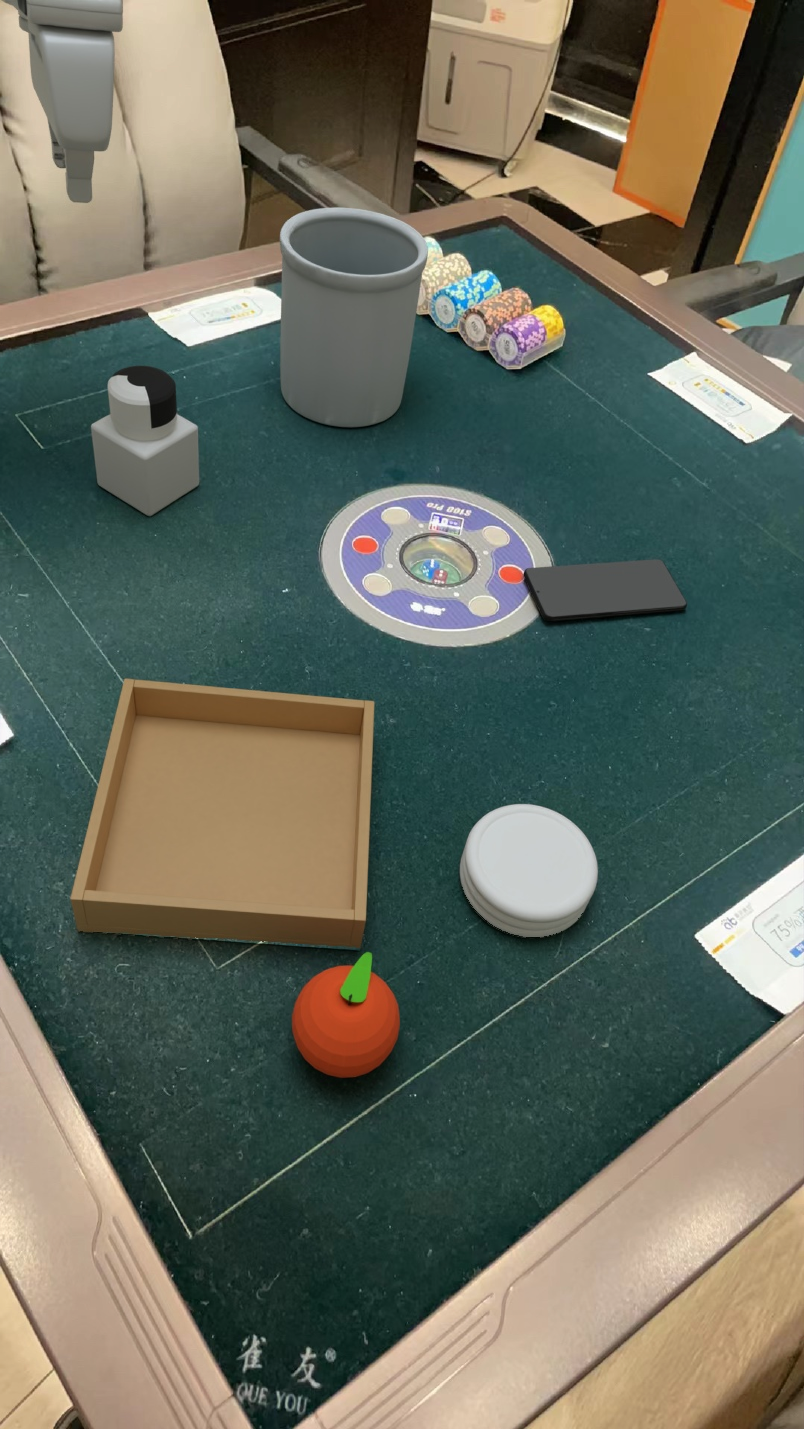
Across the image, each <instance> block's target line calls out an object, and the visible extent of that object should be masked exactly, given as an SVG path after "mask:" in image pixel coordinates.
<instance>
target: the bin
mask: <svg viewBox="0 0 804 1429" xmlns="http://www.w3.org/2000/svg"><path fill="white" fill-rule="evenodd" d="M374 725H375V701H374V700H363V699H355V698H354V699H353V698H342V697H330V696H321V695H311V694H309V695H308V694H298V693H287V692H276V691H265V690H254V689H243V688H232V687H224V686H223V687H221V686H210V685H202V684H201V685H198V684H189V683H180V682H179V683H177V682H167V681H156V680H146V679H145V680H144V679H134V678H125V677H124V679H123V682H122V687H121V692H120V695H119V699H118V703H117V708H116V711H115V715H114V720H113V723H112V727H111V732H110V736H109V738H108V739H109V740H108V743H107V748H106V751H105V756H104V760H103V764H102V769H101V772H100V777H99V781H98V785H97V788H96V792H95V796H94V801H93V805H92V808H91V812H90V816H89V817H90V818H89V822H88V825H87V829H86V833H85V837H84V841H83V844H82V849H81V854H80V857H79V861H78V865H77V869H76V874H75V878H74V882H73V886H72V890H71V894H70V899H69V900H70V904H71V907H72V913H73V916H74V919H75V920H74V921H75V925H76V929H77V932H78V933H79V932H80V931H83V932H82V933H93V932H103V933H102V934H106V933H105V932H108V933H110V932H111V933H130V934H148V935H161V936H175V937H190V938H195V937H196V938H219V939H225V938H227V939H237V940H247V941H251V940H252V941H262V942H264V941H268V942H281V943H295V944H310V945H328V946H346V947H356V948H360V949H361V947H362V942H363V937H364V931H365V928H366V923H367V904H368V902H367V900H368V881H369V880H368V879H369V878H368V877H369V855H370V854H369V853H370V826H371V802H372V801H371V800H372V778H373V776H372V775H373V752H374V750H373V748H374Z"/></svg>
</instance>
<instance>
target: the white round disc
mask: <svg viewBox="0 0 804 1429" xmlns="http://www.w3.org/2000/svg"><path fill="white" fill-rule="evenodd" d="M598 868H599V867H598V860H597V856H596V854H595V851H594V848H593V845H592V844H591V842H590V841H589V839H588V837H587V836H586V835H585V833H584V832H583V831H582V829H580V828H579V827H578V825H576V824H575V823H574V822H573V821H572V820H570V819H568V818H567V817H566V816H564V815H563V814H561V813H559V812H557V811H556V810H553V809H550V808H547V807H545V806H541V805H537V804H529V803H515V804H508V805H503V806H500V807H497V808H495V809H493V810H491V811H489V812H488V813H486V814H485V815H484V816H482V817H481V818H480V819H479V820H478V821H476V823H475V824H474V826H473V827H472V828H471V830H470V832H469V833H468V836H467V838H466V841H465V845H464V848H463V851H462V854H461V857H460V862H459V880H460V884H461V887H463V888H462V891H463V890H464V891H463V894H464V896H465V895H466V896H465V898H466V897H467V898H466V900H467V899H468V900H469V901H468V900H467V901H468V903H469V902H470V903H469V905H470V904H471V905H472V906H473V907H472V906H471V905H470V906H471V907H472V909H473V908H474V909H475V910H476V911H477V912H478V913H479V914H480V915H481V916H482V917H483V918H484V919H485V920H487V921H488V922H489V923H490V924H492V925H493V926H492V925H491V926H492V927H494V926H495V927H497V928H499V929H501V930H502V931H501V930H500V931H501V932H503V931H506V932H508V933H510V934H509V935H511V934H514V935H519V936H523V937H522V938H526V937H540V938H545V937H544V936H547V937H550V936H549V935H551V936H554V935H556V933H557V934H559V933H561V931H562V932H563V931H565V930H567V929H568V928H570V927H572V926H573V925H574V924H575V923H576V922H577V921H579V919H580V918H581V917H582V915H583V914H584V912H585V910H586V908H587V906H588V904H590V900H591V898H592V897H593V895H594V893H595V891H596V887H597V883H598V877H599V876H598V875H599V869H598ZM474 909H473V910H474ZM475 910H474V911H475ZM476 911H475V912H476ZM477 912H476V913H477ZM478 913H477V914H478ZM582 913H583V914H582ZM479 914H478V915H479ZM581 914H582V915H581ZM480 915H479V916H480ZM481 916H480V917H481ZM482 917H481V918H482ZM483 918H482V919H483ZM578 918H579V919H578ZM484 919H483V920H484ZM485 920H484V921H485ZM488 922H487V923H488ZM489 923H488V924H489ZM490 924H489V925H490ZM495 927H494V928H495ZM497 928H496V929H497ZM499 929H498V930H499ZM508 933H507V934H508ZM553 934H554V935H553ZM514 935H513V936H514ZM519 936H518V937H519Z"/></svg>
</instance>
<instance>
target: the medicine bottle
mask: <svg viewBox="0 0 804 1429" xmlns="http://www.w3.org/2000/svg"><path fill="white" fill-rule="evenodd" d="M107 394H108V396H107V397H108V405H109V414H108V415H106V416H104V417H102V418H100V419H98V420H96V421H95V422H93V423H92V424H91V425H90V430H91V431H90V432H91V439H92V448H93V456H94V464H95V465H94V466H95V472H96V473H95V474H96V481H97V486H99V487H101V488H102V489H104V490H105V491H107V492H109V493H110V494H112V495H113V496H115V497H117V498H118V499H119V500H121V501H123V502H124V503H126V504H128V505H130V506H131V507H133V508H134V509H136V510H137V511H139V512H141V513H143V515H145V516H148V517H152V516H154V515H155V514H157V513H158V512H159V511H162V510H163V509H164V508H166V507H167V506H169V505H170V504H172V503H173V502H175V501H177V500H178V499H179V498H181V497H183V496H185V495H186V494H188V493H189V492H191V491H193V490H194V489H195V488H197V487H198V486H199V485H200V458H199V453H200V452H199V427H198V425H197V424H195V423H194V422H192V421H190V420H188V419H186V418H185V417H183V416H181V415H179V414H178V406H177V405H178V404H177V384H176V382H175V380H174V379H173V377H172V376H171V375H169V373H167V372H166V371H164V370H163V369H160V368H157V367H156V366H155V367H153V366H150V365H131V366H127V367H124V368H121V369H119V370H117V371H116V372H114V373H113V375H111V377H110V378H109V379H108V381H107Z"/></svg>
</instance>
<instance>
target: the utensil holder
mask: <svg viewBox="0 0 804 1429" xmlns="http://www.w3.org/2000/svg"><path fill="white" fill-rule="evenodd" d="M279 249H280V250H279V251H280V253H281V256H282V258H281V292H280V293H281V295H280V296H281V297H280V299H281V300H280V304H281V305H280V339H279V340H280V341H279V342H280V352H279V353H280V355H279V356H280V357H279V358H280V359H279V360H280V361H279V362H280V365H279V367H280V368H279V369H280V371H279V372H280V374H279V375H280V391H281V394H282V397H283V399H284V401H285V402H286V404H287V405H288V406H289V407H290V408H291V409H292V410H293V411H295V412H296V413H297V414H299V415H300V416H303V417H304V418H306V419H309V420H311V421H313V422H316V423H319V424H323V425H325V426H326V425H327V426H332V427H337V428H338V427H340V428H362V427H368V426H372V425H376V424H378V423H382V422H384V421H386V420H388V419H389V418H390V417H392V416H394V414H395V413H396V412H397V411H398V409H399V408H400V406H401V404H402V400H403V395H404V394H403V393H404V388H405V383H406V378H407V372H408V367H409V361H410V355H411V349H412V342H413V336H414V329H415V323H416V317H417V310H418V306H419V305H418V304H419V299H420V298H419V297H420V292H421V285H422V284H421V283H422V277H423V272H424V270H425V269H426V266H427V261H428V255H429V247H428V244H427V241H426V239H425V238H424V237H423V235H422V234H421V233H420V232H419V231H418V230H417V229H415V228H414V227H413V226H411V225H410V224H408V223H406V222H404V221H403V220H400V219H397V218H395V217H392V216H390V215H387V214H385V213H380V212H376V211H372V210H368V209H367V210H366V209H360V208H353V207H321V208H313V209H310V210H306V211H305V210H304V211H302V212H299V213H297V214H295V215H293V216H291V217H290V218H289V219H287V220H286V221H285V223H284V224H283V225H282V227H281V229H280V233H279Z"/></svg>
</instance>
